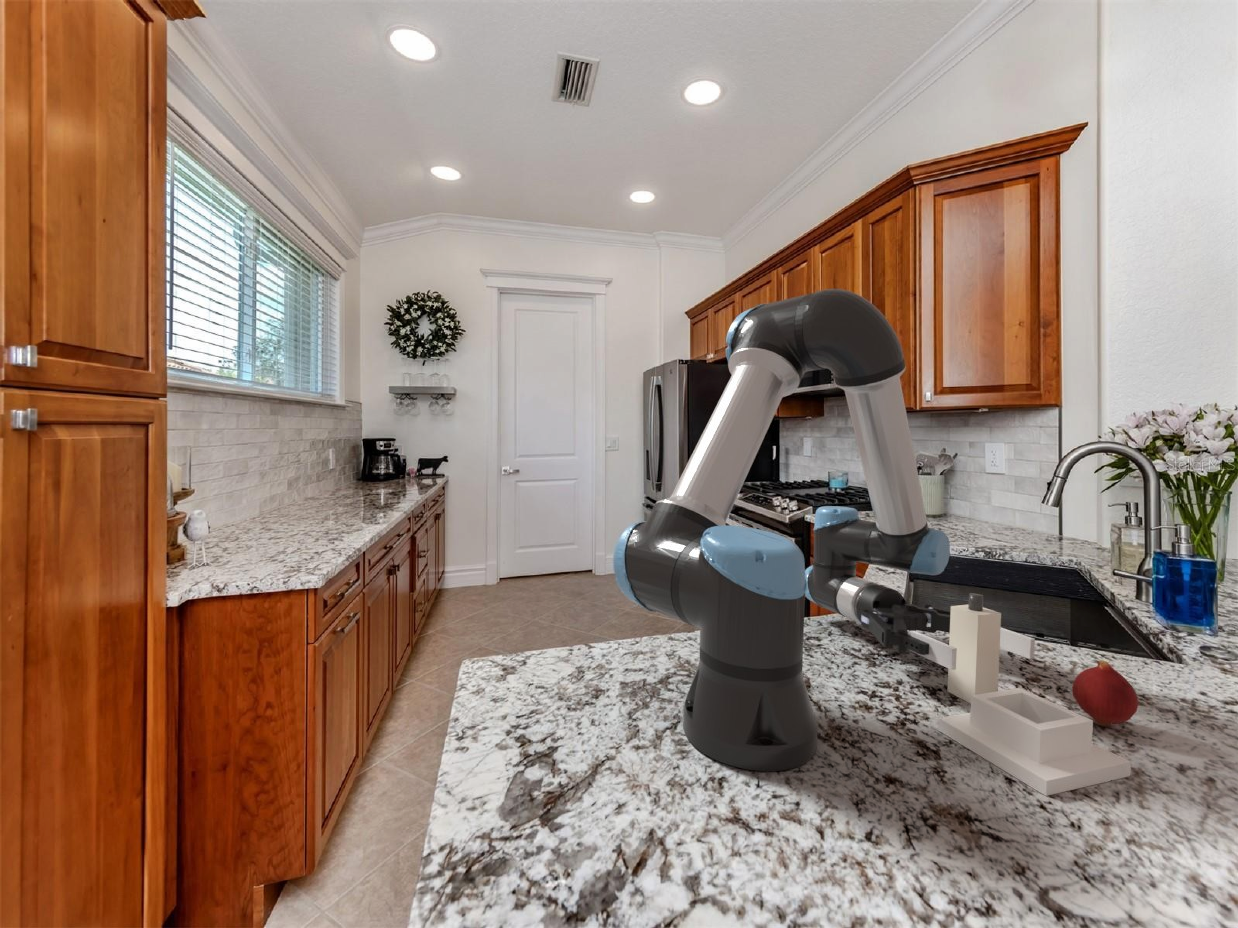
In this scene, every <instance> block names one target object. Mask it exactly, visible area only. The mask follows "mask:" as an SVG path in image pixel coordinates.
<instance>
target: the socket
mask: <svg viewBox="0 0 1238 928" xmlns="http://www.w3.org/2000/svg"><path fill="white" fill-rule="evenodd" d="M937 721H938V724H937V731H938V732H940V733H942V734H944V735H945V736H947V737H949V738H950V739H952V740H954V741H955V742H956V743H959V744H960V745H962V746H963V747H965V748H966V749H968V750H970V751H971V752H973V753H974V754H977V755H978V756H979V757H981V758H983V759H984V760H986V761H987V762H989V763H991V764H993V765H995V766H997V768H1000V770H1003V772H1006V773H1007V774H1009V775H1010V776H1013V777H1014V778H1016V779H1017V780H1019V781H1020V782H1022V783H1024V784H1025V785H1027V786H1029V787H1031V788H1032V789H1034V790H1036V791H1037V792H1039V793H1040V794H1042V795H1044V797H1047V796H1051V795H1052V796H1053V795H1056V794H1060V793H1064V792H1069V791H1073V790H1077V789H1082V788H1085V787H1090V786H1094V785H1098V784H1103V783H1107V782H1112V781H1115V780H1119V779H1124V778H1129V777H1131V770H1132V761H1130V760H1128V759H1126V758H1123V757H1122V756H1120V755H1118V754H1115V753H1113V752H1111V751H1110V750H1108V749H1105V748H1103V747H1100V746H1098V744H1095V743H1093V728H1094V727H1093V726H1094V719H1090V718H1088V717H1087V716H1084V715H1081V714H1079V713H1077V712H1074V711H1072V710H1070V709H1068V708H1066V707H1064V706H1062V705H1059V704H1056V703H1054V702H1053V701H1051V700H1048V699H1046V698H1044V697H1041V696H1038V695H1036V694H1034V693H1032V692H1029V691H1027V690H1025V689H1023V688H1021V687H1017V688H1011V689H1004V690H998V691H997V692H990V693H984V694H977V695H971V703H970V712H966V713H959V714H955V715H947V716H943V717H938V720H937ZM1111 780H1112V781H1111Z"/></svg>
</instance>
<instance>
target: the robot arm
mask: <svg viewBox="0 0 1238 928" xmlns="http://www.w3.org/2000/svg"><path fill="white" fill-rule="evenodd" d="M725 338H726V339H725V343H726V344H727V347H725V355H726V359H727V366H728V370H729V373H730V375H731V376H730V378H729V380H728V382H727V384H726V385H725V387H724V390H723V392H722V394H721V396H720V398H719V400H718V401H717V404H716V406H715V408H714V410H713V412H712V414H711V416H710V418H709V420H708V422H707V424H706V425H705V428H704V429H703V432H702V433H701V435H700V438H699V439H698V442H697V444H696V445H695V448H694V450H693V452H692V454H691V455H690V457H689V459H688V461H687V463H686V466H685V468H684V470H683V472H682V473H681V475H680V477H679V479H678V481H677V483H676V485H675V487H674V489H673V491H672V493H671V495H670V497H668V498H664V499H660V500H657V501H656V502H655V503H654V506H653V507H652V509H651V511H650V513H649V515H648V517H647V519H646V520H644V521H639V522H636V523H634V524H631V525H629V526H628V527H626V528H625V529H624V530H623V531H622V533H621V534H620V536H619V537H618V539H617V541H616V544H615V548H614V549H613V550H614V552H613V559H612V560H613V561H612V566H613V568H612V569H613V572H614V574H615V575H614V576H615V582H616V584H617V586H618V588H619V590H620V591H621V592H622V594H623V595H624V596H625V597H626V598H627V599H628V600H630V601H631V602H632V603H635V604H637V605H638V606H640V607H641V608H642V607H643V608H644V609H645V610H646V611H649V612H653V613H654V612H655V613H659V614H662V615H664V616H666V617H670V618H672V619H675V620H677V621H679V622H680V623H681V622H682V623H684V624H686V625H689V626H691V627H695V628H697V629H699V659H698V660H699V661H698V665H697V667H696V670H695V674H694V676H693V678H692V680H691V681H692V682H691V683H690V687H689V690H688V692H687V695H686V697H685V698H686V699H685V700H684V704H683V712H682V713H683V715H682V717H683V719H682V721H683V722H682V724H683V725H682V728H683V732H684V734H685V737H686V739H687V740H688V741H689V742H690V743H691V744H692V746H693V747H695V748H696V749H697V750H698V751H700V752H701V753H702V754H704V755H706V756H707V757H709V758H711V759H713V760H715V761H717V762H720V763H723V764H725V765H728V766H732V767H735V768H740V769H745V770H749V771H758V772H777V771H779V772H780V771H784V770H785V771H786V770H792V769H794V768H797V767H800V766H802V765H804V764H806V763H807V762H808V761H810V760H811V759H812V758H813V757H814V756H815V754H816V752H817V747H818V725H817V719H816V717H815V712H814V709H813V707H812V706H813V705H812V702H811V700H810V697H809V693H808V690H807V689H808V688H807V685H806V683H805V678H804V676H803V659H804V657H803V654H804V633H805V609H806V608H805V607H806V606H805V604H806V599H807V600H809V601H811V602H812V603H814V604H816V606H818V607H820V608H823V609H825V610H829V611H830V612H834V613H835V614H838V615H840V616H842V617H844V618H846V619H849V620H851V621H853V622H855V624H856V625H857V626H861V627H863V628H864V629H867V630H869V632H870V633H871V635H873V636H874V638H876V640H877V641H878V642H879V643H880V644H881V646H882V647H884V648H886V649H889V650H891V649H893V648H894V646H897V647H896V653H897V654H899V655H903V656H905V655H908V650H909V651H910V652H912V653H915V654H916V655H919V656H921V657H923V658H925V659H927V660H930V661H931V662H934V663H936V664H938V665H940V666H942V667H945V668H946V669H947V670H948V669H951V670H954V669H956V655H957V648H955V647H952V646H950V645H949V644H947V643H945V642H942V641H940V640H938V639H935V638H932V637H930V636H928V635H925V634H923V633H921V632H924V633H925V632H926V633H931V634H935V633H936V632H943V633H949V634H950V613H951V609H948V608H942V607H939V606H935V605H933V604H932V605H931V604H929V603H927V604H923V605H924V606H923V607H921V606H918V605H917V604H913V603H908V602H907V601H906V600H905V597H904V596H903V595H902V593H900V592H899V591H898V590H896V589H894V588H891V587H888V586H884V585H882V584H880V583H877V582H874V581H870V580H867V579H866V578H862V577H859V576H856V575H857V565H858V563H861V564H868V565H873V566H878V567H884V568H889V569H894V570H899V571H903V572H909V573H910V574H919V575H930V576H937V575H940V574H942V573H943V572H944V570H945V569H946V567H947V565H948V563H949V559H950V554H951V553H950V552H951V545H950V540H949V537H948V536H947V534H946V532H945V531H944V530H941V529H936V528H935V527H934V528H933V527H931V528H930V527H929V525H928V524H929V523H928V519H927V514H926V510H925V509H926V508H925V503H924V499H923V493H922V488H921V484H920V483H921V482H920V477H919V473H918V468H917V467H918V466H917V463H916V457H915V451H914V447H913V441H912V436H911V431H910V430H911V429H910V425H909V420H908V415H907V414H908V413H907V409H906V405H905V399H904V393H903V389H902V381H901V376H902V375H903V374H904V373H905V371H906V368H907V367H906V362H905V356H904V352H903V347H902V344H901V342H900V340H899V338H898V335H897V334H896V331H895V330H894V328H893V326H892V325H891V323H890V322H889V321H888V319H887V318H886V316H885V315H884V314H883V313H882V312H881V311H880V309H878V308H877V307H876V306H875V305H874V304H873V303H872V302H870V301H869V300H867V298H865V297H863V296H861V295H859V294H857V293H855V292H853V291H850V290H846V289H843V288H827V289H821V290H819V291H815V292H813V293H807V294H804V295H799V296H794V297H791V298H785V299H781V300H777V301H773V302H767V303H762V304H758V305H757V306H754V307H751V308H749V309H746V310H745V311H743V312H741V313H740V314H738V316H736V318H735V319H734V320H733V321H732V323H731V324H730V326H729V329H728V331H727V334H726V337H725ZM827 369H828V370H829V371H831V372H832V373H831V374H832V375H833V379H834V383H835V386H836V387H837V388H839V389H841V390H843V391H844V394H845V399H846V403H847V407H848V409H849V410H848V411H849V415H850V419H851V423H852V428H853V432H854V436H855V440H856V444H857V449H858V453H859V458H860V462H861V466H862V470H863V474H864V479H865V483H866V487H867V492H868V495H869V500H870V504H871V508H872V512H873V517H874V521H870V520H864V519H860V517H859V511H858V510H857V509H856V508H854V507H849V506H848V507H847V506H838V505H836V506H834V505H833V506H832V505H824V506H820V507H818V508H817V509H816V510H815V516H814V527H813V559H812V560H813V562H812V565H810V566H809V567H807V568H806V566H805V563H806V562H805V557H804V553H803V551H802V550H801V549H800V548H799V546H798V545H797V544H796V543H795V542H794V541H793V540H791V539H789V538H787V537H785V536H783V535H780V534H777V533H774V532H770V531H767V530H762V529H759V528H753V527H751V528H748V527H744V526H741V525H726V522H727V520H728V517H729V516H730V514H731V512H732V510H733V507H734V505H735V502H736V500H737V498H738V496H739V494H740V491H741V490H742V487H743V485H744V482H745V480H746V478H747V476H748V474H749V472H750V469H751V467H752V465H753V463H754V461H755V459H756V456H757V454H758V453H759V450H760V448H761V445H762V443H763V441H764V439H765V436H766V434H767V433H768V430H769V428H770V425H771V423H772V421H773V419H774V416H775V415H776V413H777V410H778V408H779V406H780V403H781V401H782V399H783V398H785V397H787V396H790V395H792V394H794V393H795V392H796V391H797V390H798V388H799V385H800V383H801V381H802V380H803V377H804V375H805V373H807V372H812V371H820V370H827ZM928 623H930V626H928ZM1035 640H1036V639H1035V638H1033V637H1030V636H1028V635H1025V634H1022V633H1019V632H1016V631H1013V630H1009V629H1006V628H1004V627H1001V630H1000V649H1002V650H1005V651H1007V652H1009V653H1011V654H1015V655H1018V656H1020V657H1023V658H1025V659H1028V660H1033V659H1035V648H1036V647H1035V645H1036V644H1035V643H1036V641H1035Z"/></svg>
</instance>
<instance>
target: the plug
mask: <svg viewBox="0 0 1238 928" xmlns="http://www.w3.org/2000/svg"><path fill="white" fill-rule="evenodd" d="M950 610H951V613H950V633H949V638H948V639H949V641H948V643H949V644H948V645H950V646H952V647H955V648H957V655H956V669H954V670H951V669H948V668H947V673H948V674H947V691H946V692H947V693H950V694H951V695H953V696H955V697H957V698H959V699H960V700H963V701H965V702H967V703H968V704H971V695H977V694H984V693H990V692H997V691H999V673H1000V652H1001V648H1000V630H1001V628H1002V626H1001V625H1002V623H1001V622H1002V612H998V611H996V610H993V609H989V608H987V607H984V595H983V594H979V593H973V592H972V593H971V592H970V593H969V592H968V604H961V605H959V604H958V605H950Z"/></svg>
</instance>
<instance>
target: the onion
mask: <svg viewBox="0 0 1238 928" xmlns="http://www.w3.org/2000/svg"><path fill="white" fill-rule="evenodd" d="M1096 663H1097V666H1093V667H1089V668H1086V669H1084V670H1083V671H1081V672H1080V673H1078V675H1076V677H1075V679H1074V681H1073V684H1072V686H1071V689H1072V691H1071V693H1072V696H1073V699H1074V700H1075V702H1076V703H1077V705H1078V706H1079V707H1080V708H1081V709H1082V710H1083V712H1085V713H1086V714H1087V715H1088V716H1089V717H1091V718H1092V720H1093V721H1094V722H1096V723H1097V725H1099V726H1103V727H1109V726H1113V725H1118V724H1123V723H1125V722H1126V721H1129V720H1131V718H1133V716H1134V715H1135V714H1136V713H1137V711H1138V708H1139V698H1138V695H1137V692H1136V690H1135V689H1134V687H1133V685H1131V683H1130V682H1129V681H1128V680H1127V679H1126V678H1125V676H1123V675H1122V674H1121V673H1120V672H1119V671H1117V670H1115V669H1114V668H1113V667H1112V665H1111V664H1110V663H1109V662H1107V661H1105V660H1097V661H1096Z"/></svg>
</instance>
